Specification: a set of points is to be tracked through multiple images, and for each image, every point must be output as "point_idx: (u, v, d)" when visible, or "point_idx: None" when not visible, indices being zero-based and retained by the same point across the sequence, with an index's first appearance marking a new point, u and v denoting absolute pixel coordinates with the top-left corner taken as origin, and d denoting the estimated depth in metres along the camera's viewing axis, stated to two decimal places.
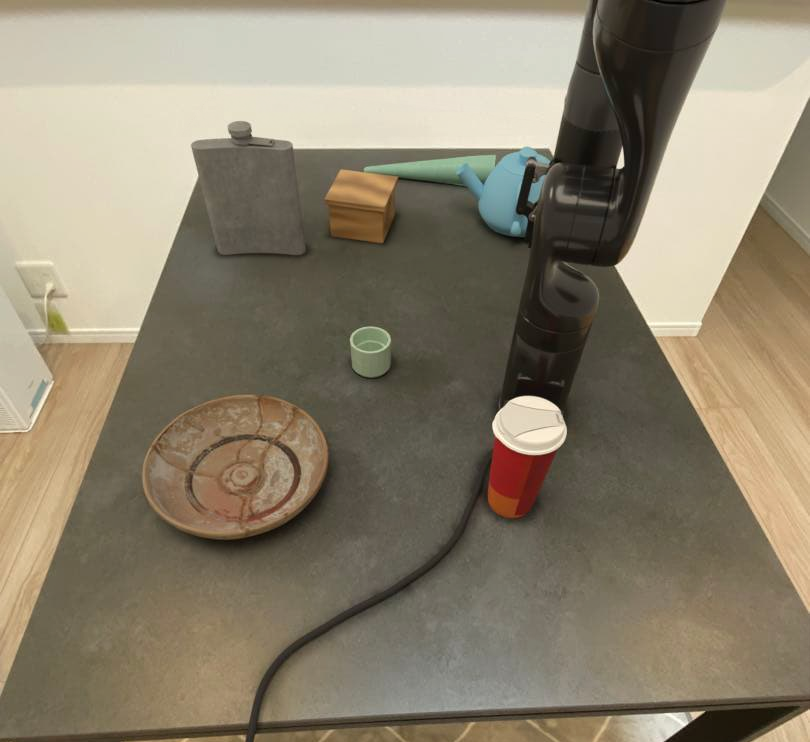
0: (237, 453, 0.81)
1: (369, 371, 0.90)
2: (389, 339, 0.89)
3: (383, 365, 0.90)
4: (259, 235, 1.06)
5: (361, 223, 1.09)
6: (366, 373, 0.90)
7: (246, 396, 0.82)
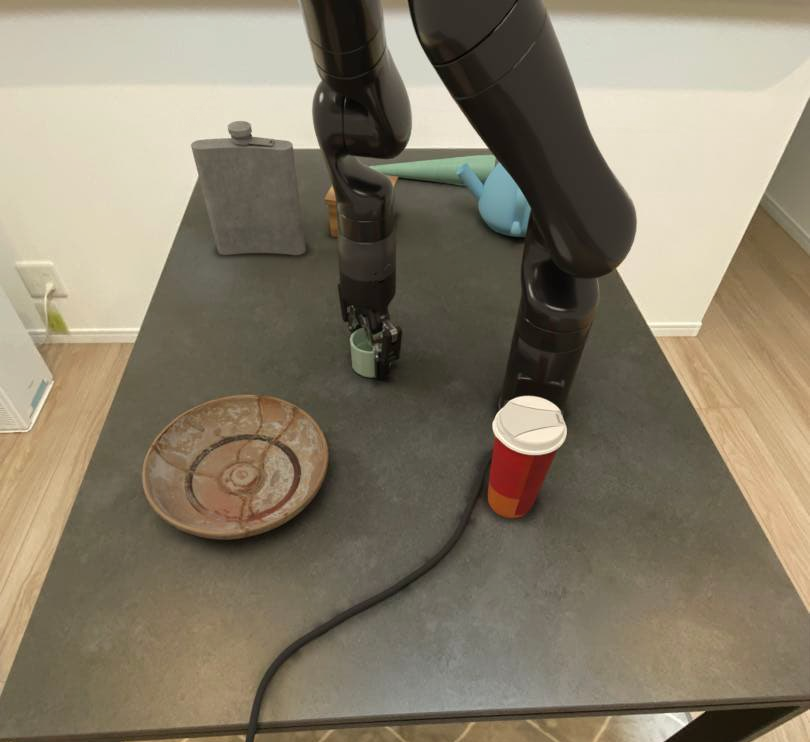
0: (237, 453, 0.81)
1: (369, 371, 0.90)
2: None
3: None
4: (259, 235, 1.06)
5: None
6: (366, 373, 0.90)
7: (246, 396, 0.82)
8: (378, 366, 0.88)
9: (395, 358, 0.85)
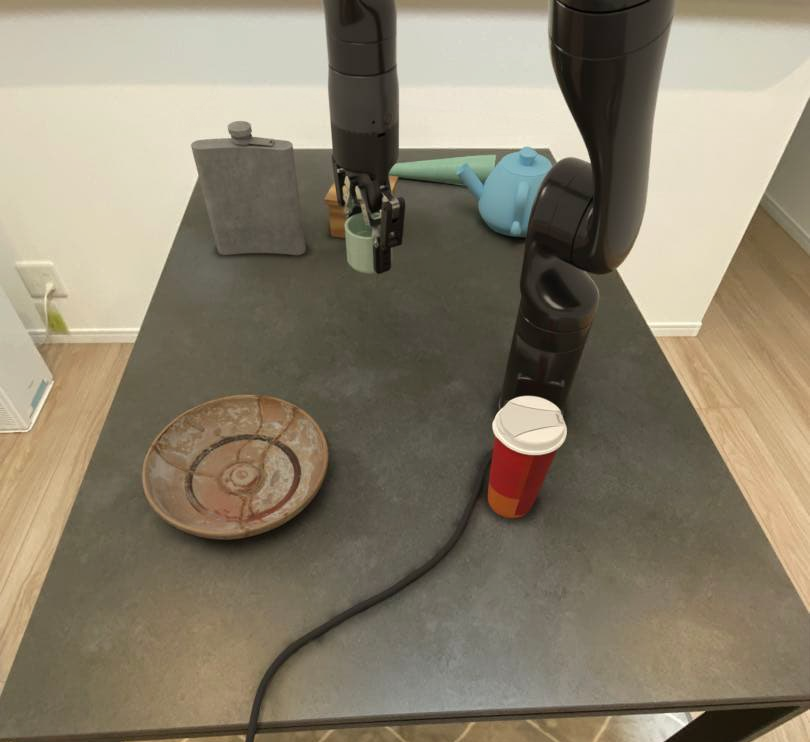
0: (237, 453, 0.81)
1: (367, 264, 0.77)
2: None
3: None
4: (259, 235, 1.06)
5: None
6: (363, 267, 0.77)
7: (246, 396, 0.82)
8: (377, 256, 0.75)
9: (397, 242, 0.72)
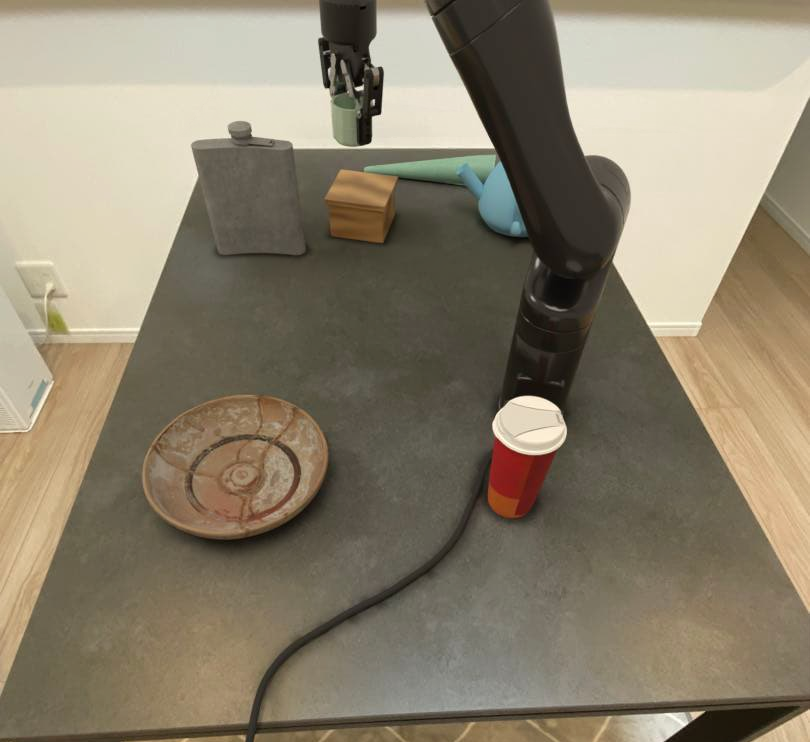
0: (237, 453, 0.81)
1: (351, 136, 0.89)
2: None
3: None
4: (259, 235, 1.06)
5: (361, 223, 1.09)
6: (347, 139, 0.90)
7: (246, 396, 0.82)
8: (360, 127, 0.88)
9: (377, 111, 0.85)
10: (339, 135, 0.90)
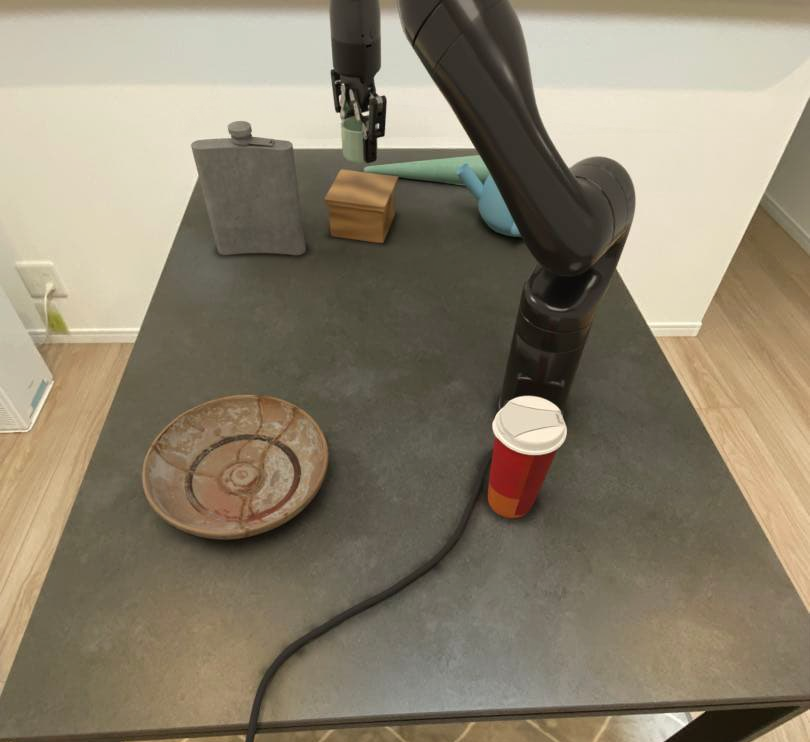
0: (237, 453, 0.81)
1: (358, 154, 1.01)
2: None
3: None
4: (259, 235, 1.06)
5: (361, 223, 1.09)
6: (355, 157, 1.02)
7: (246, 396, 0.82)
8: (366, 147, 1.00)
9: (381, 134, 0.97)
10: (348, 153, 1.02)
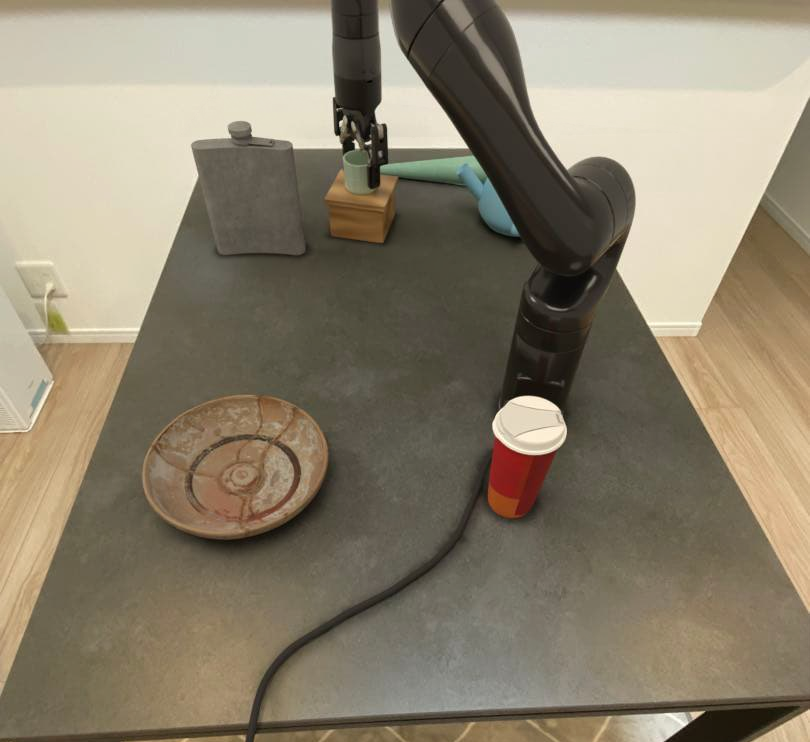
0: (237, 453, 0.81)
1: (359, 186, 1.06)
2: None
3: None
4: (259, 235, 1.06)
5: (361, 223, 1.09)
6: (356, 189, 1.06)
7: (246, 396, 0.82)
8: (370, 174, 1.03)
9: (384, 161, 1.00)
10: (349, 185, 1.06)
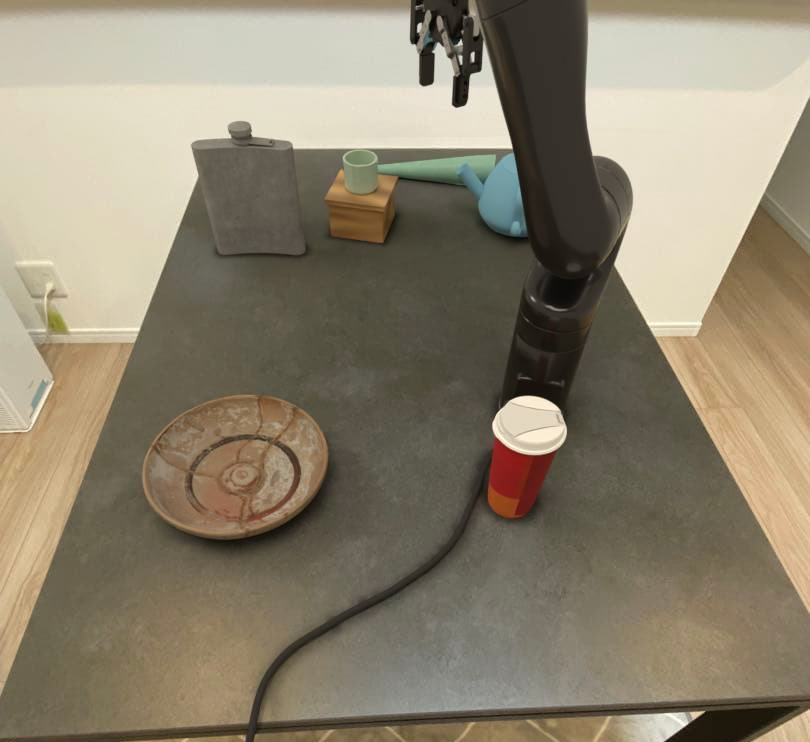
0: (237, 453, 0.81)
1: (359, 186, 1.06)
2: (376, 157, 1.04)
3: (371, 181, 1.05)
4: (259, 235, 1.06)
5: (361, 223, 1.09)
6: (356, 189, 1.06)
7: (246, 396, 0.82)
8: (457, 87, 0.83)
9: (477, 67, 0.80)
10: (349, 185, 1.06)
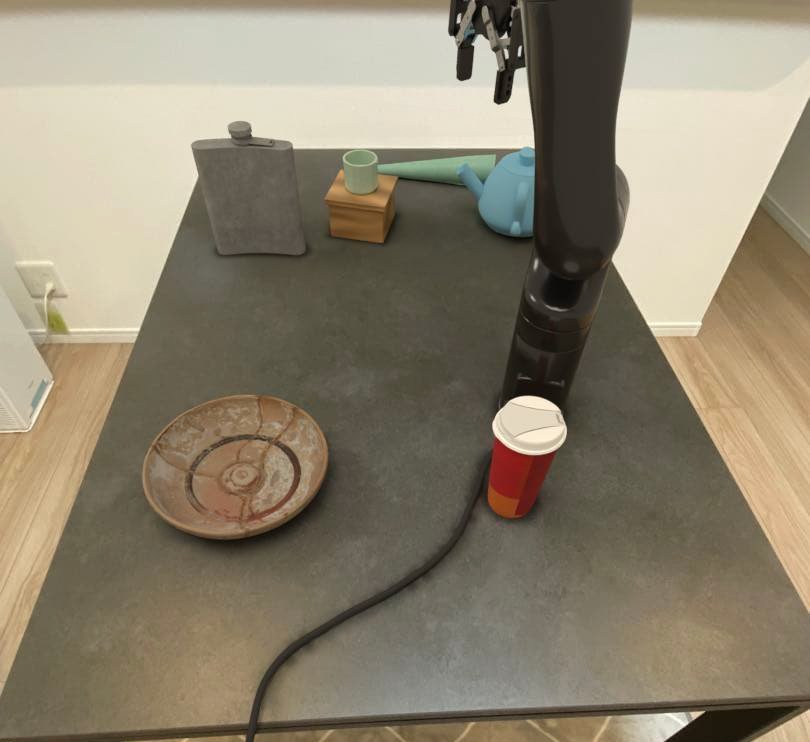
0: (237, 453, 0.81)
1: (359, 186, 1.06)
2: (376, 157, 1.04)
3: (371, 181, 1.05)
4: (259, 235, 1.06)
5: (361, 223, 1.09)
6: (356, 189, 1.06)
7: (246, 396, 0.82)
8: (500, 83, 0.78)
9: (524, 62, 0.75)
10: (349, 185, 1.06)
